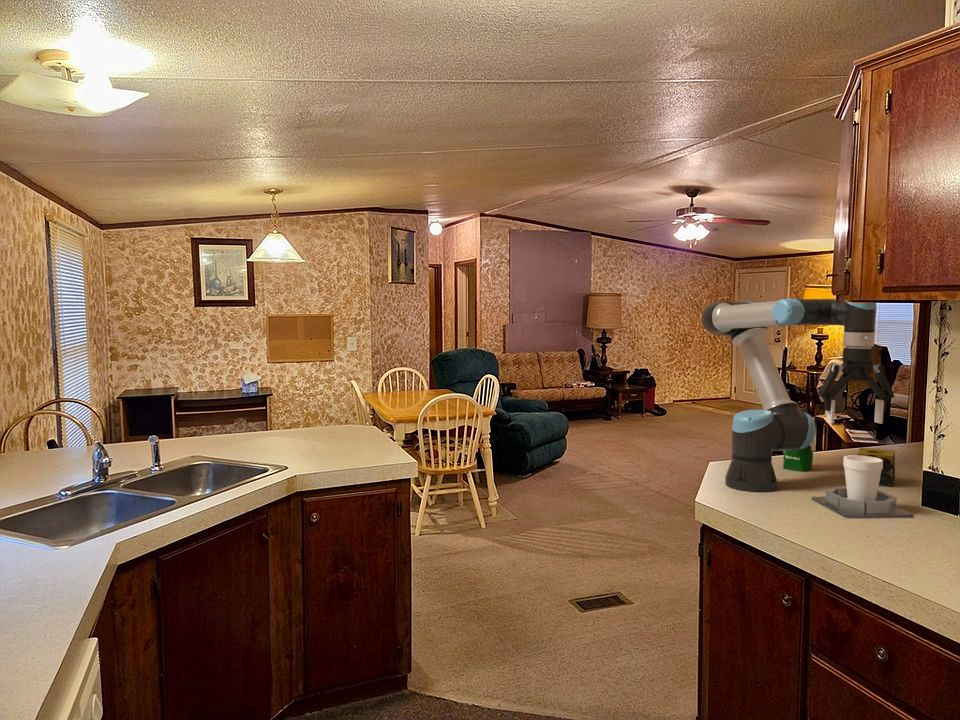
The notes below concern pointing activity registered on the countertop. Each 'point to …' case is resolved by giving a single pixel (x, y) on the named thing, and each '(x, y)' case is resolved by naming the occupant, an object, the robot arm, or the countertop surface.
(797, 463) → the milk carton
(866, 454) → the yellow black cube
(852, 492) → the foam cup
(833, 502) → the ring seat
